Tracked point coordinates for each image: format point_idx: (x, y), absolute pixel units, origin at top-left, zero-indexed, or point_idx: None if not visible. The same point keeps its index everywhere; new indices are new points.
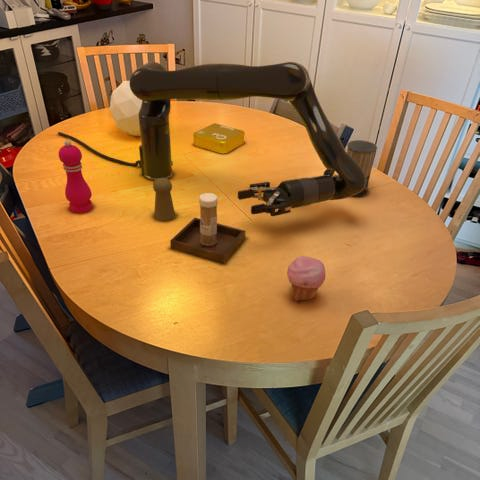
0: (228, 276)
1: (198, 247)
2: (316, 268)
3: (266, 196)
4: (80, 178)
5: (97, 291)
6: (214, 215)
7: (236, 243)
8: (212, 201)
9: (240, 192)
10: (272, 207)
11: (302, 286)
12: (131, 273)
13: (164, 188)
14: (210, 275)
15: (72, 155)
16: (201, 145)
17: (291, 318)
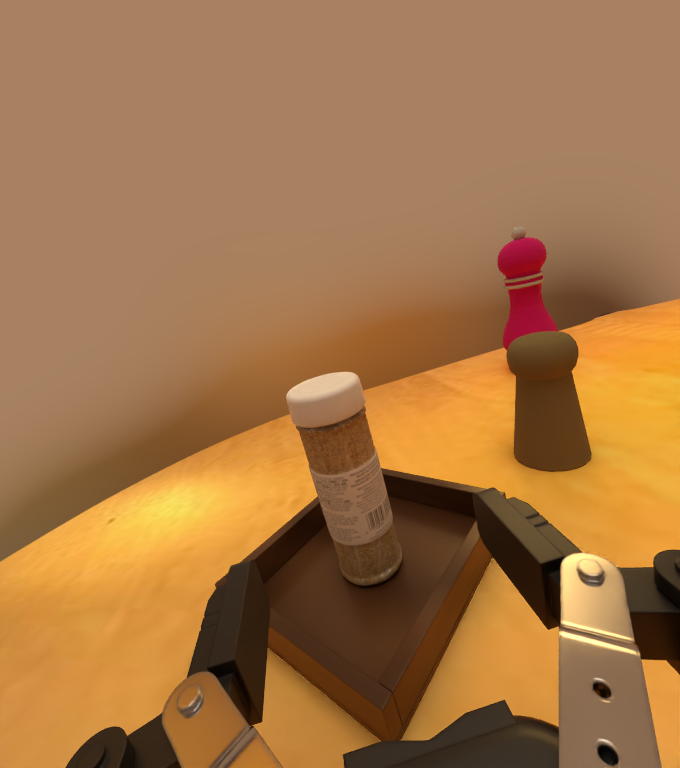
0: (155, 624)
1: (298, 515)
2: None
3: (425, 749)
4: (520, 306)
5: (266, 434)
6: (312, 464)
7: (291, 648)
8: (286, 398)
9: (478, 498)
10: (92, 743)
11: None
12: (292, 452)
13: (511, 356)
14: (198, 573)
15: (502, 255)
16: None
17: None
